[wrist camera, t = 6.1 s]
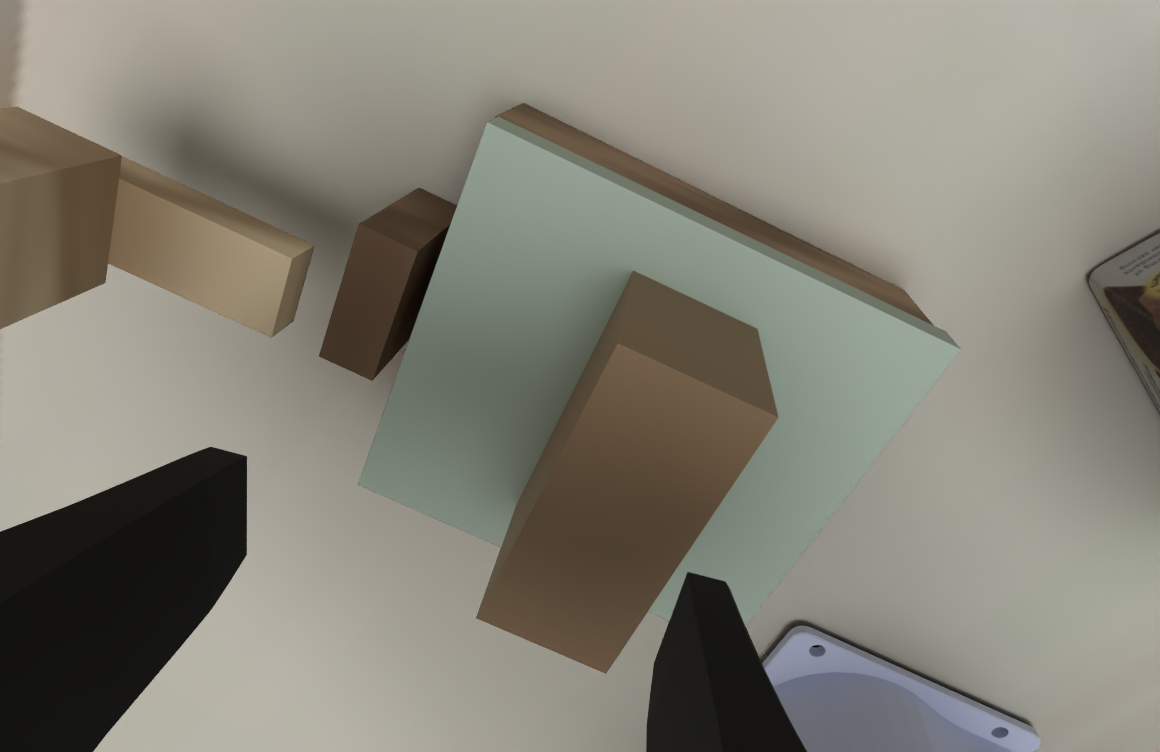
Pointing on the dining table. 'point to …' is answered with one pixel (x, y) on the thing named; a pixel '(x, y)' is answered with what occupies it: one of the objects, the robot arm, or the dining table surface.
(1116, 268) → the cookie box
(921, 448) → the dining table surface
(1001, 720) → the robot arm
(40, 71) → the dining table surface
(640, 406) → the toolbox lid
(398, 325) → the toolbox
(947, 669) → the dining table surface
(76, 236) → the mallet
